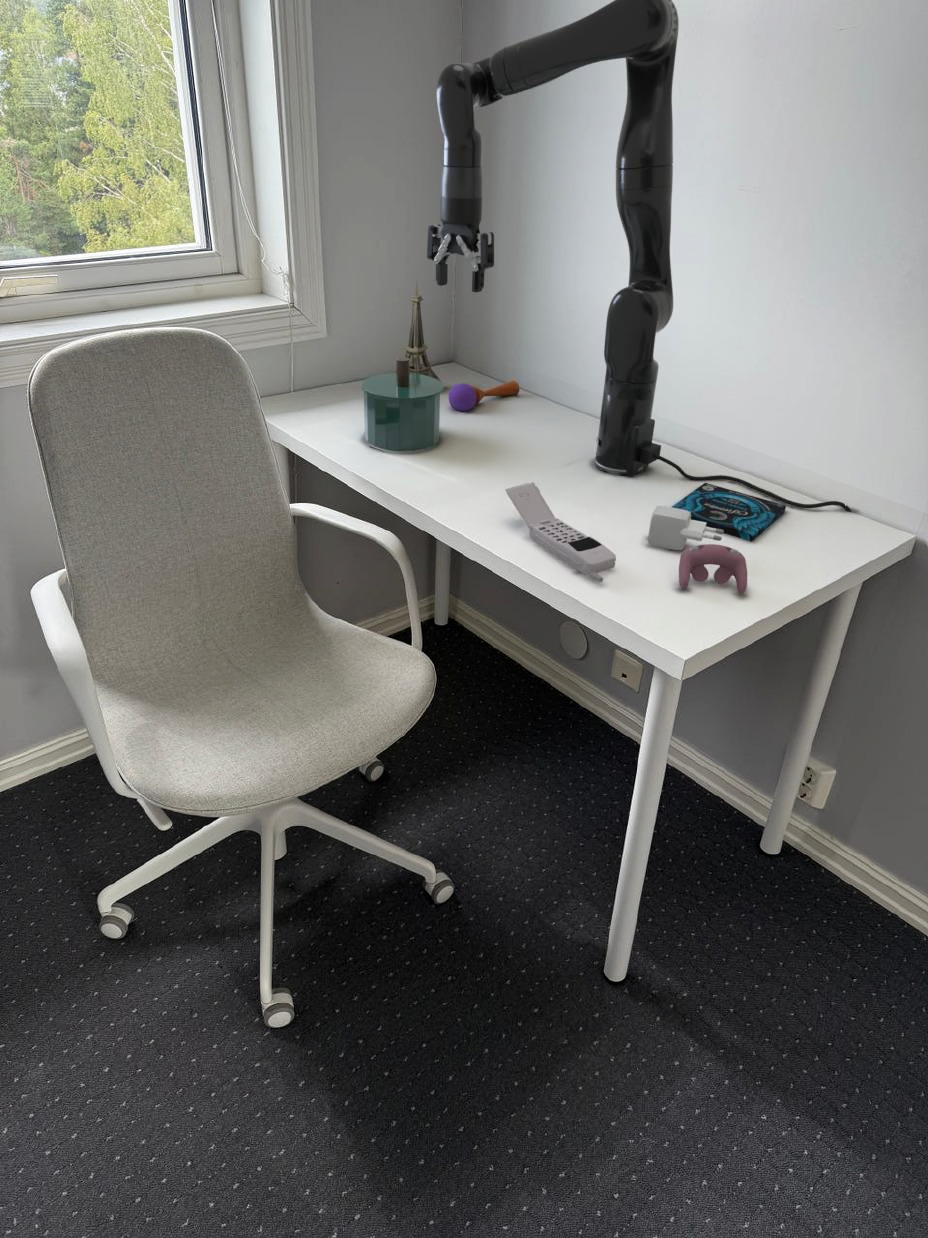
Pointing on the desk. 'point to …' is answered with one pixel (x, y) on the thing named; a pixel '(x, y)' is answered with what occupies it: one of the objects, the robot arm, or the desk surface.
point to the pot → (401, 423)
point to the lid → (402, 384)
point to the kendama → (477, 394)
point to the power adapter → (677, 528)
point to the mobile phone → (560, 534)
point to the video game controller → (716, 555)
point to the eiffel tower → (418, 341)
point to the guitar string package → (731, 511)
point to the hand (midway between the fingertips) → (459, 288)
